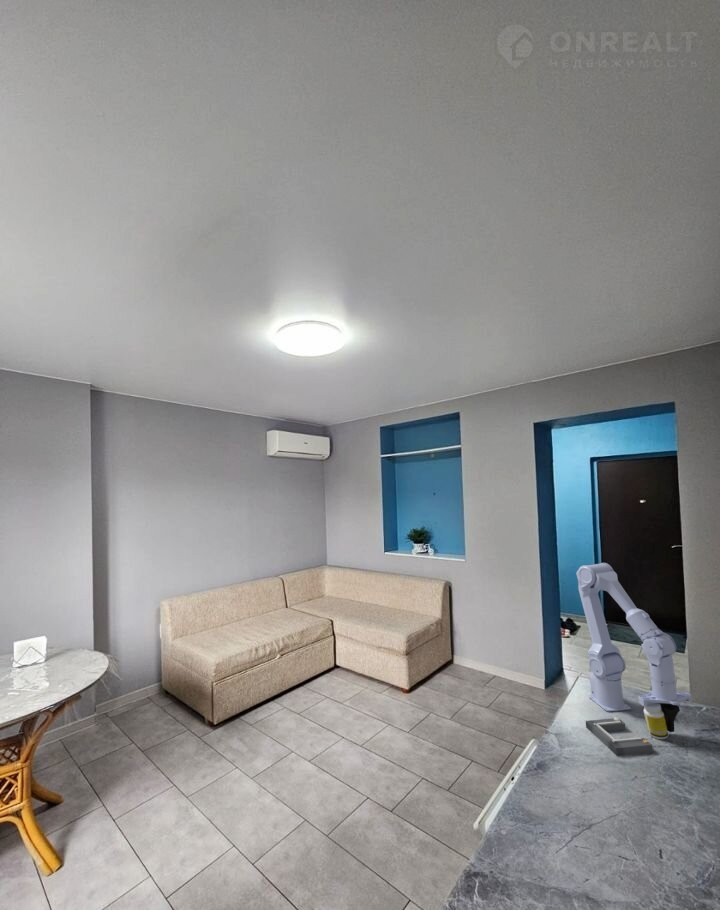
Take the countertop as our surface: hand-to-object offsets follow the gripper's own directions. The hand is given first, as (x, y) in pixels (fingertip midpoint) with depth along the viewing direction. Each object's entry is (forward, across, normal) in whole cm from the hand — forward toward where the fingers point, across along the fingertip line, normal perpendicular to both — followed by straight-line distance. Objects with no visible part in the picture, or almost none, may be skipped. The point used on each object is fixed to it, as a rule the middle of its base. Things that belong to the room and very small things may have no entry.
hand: (669, 730), depth 115 cm
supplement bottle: (+1, -3, 0) cm, 3 cm away
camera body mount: (+1, -15, 0) cm, 15 cm away
